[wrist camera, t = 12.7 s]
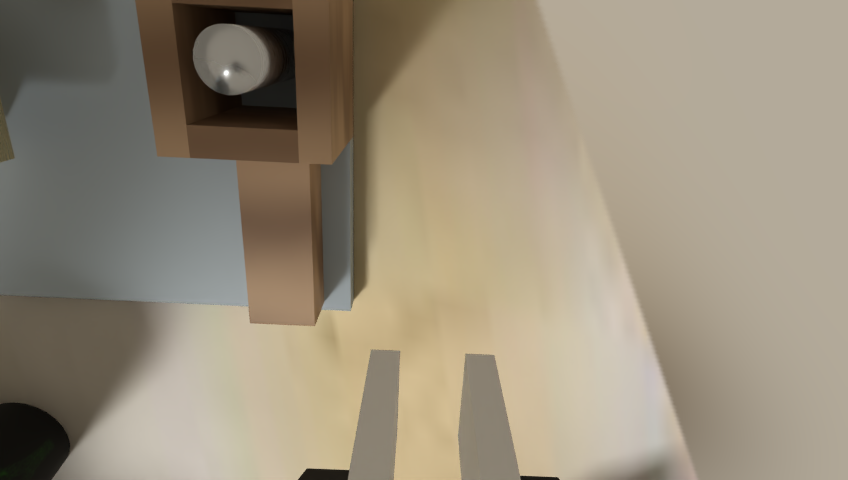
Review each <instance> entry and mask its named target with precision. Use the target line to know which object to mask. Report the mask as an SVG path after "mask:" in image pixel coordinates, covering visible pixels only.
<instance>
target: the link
mask: <svg viewBox="0 0 848 480" xmlns="http://www.w3.org/2000/svg"><path fill="white" fill-rule="evenodd" d="M135 3H136V10H137V17H138V24H139V31H140V38H141V45H142V52H143V60H144V67H145V74H146V81H147V88H148V95H149V102H150V109H151V116H152V123H153V130H154V137H155V144H156V151H157V156H158V157H178V158H199V159H220V160H236V167H237V178H238V190H239V201H240V213H241V224H242V236H243V248H244V259H245V271H246V282H247V294H248V305H249V317H250V323H258V324H280V325H303V326H315V324H316V322H317V319H318V317H319V314H320V312H321V309H322V306H323V304H324V274H323V236H322V197H321V164H325V165H332V164H333V162H334V161H335V160H336V159H337V157H338V156H339V155H340V153H341V152H342V151H343V149H344V148H345V147H346V145H347V144H348V143H349V142H350V140H351V139H352V138H353V0H135ZM235 12H245V13H264V14H284V15H293V28H294V53H295V77H296V101H297V108H287V107H267V106H247V105H242V97H241V94H238V95H225V94H221V93H218V92H216V91H214V90H213V89H211V88H210V87H208V86H207V85H206V84H205V83H204V82H203V81H202V79H201V78H200V77H199V75H198V73H197V71H196V69H195V66H194V61H193V48H194V44H195V41H196V39H197V37H198V36H199V34H200V33H201V32H202V31H203V30H204V29H206V28H207V27H209V26H212V25H215V24H235V25H236V20H235Z"/></svg>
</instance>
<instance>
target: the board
mask: <svg viewBox="0 0 848 480" xmlns="http://www.w3.org/2000/svg"><path fill="white" fill-rule="evenodd" d="M235 20H236V25H247V26H260V27H272V28H284V29H288V30H291V31H293V32H294V28H293V15H284V14H264V13H245V12H235ZM241 97H242V105H247V106H267V107H287V108H297V101H296V78H294V79H290V80H287V81H283V82H280V83H277V84H273V85H270V86H266V87H263V88H259V89H256V90H252V91H249V92H245V93H242V94H241ZM0 99H1V103H2V107H3V111H4V115H5V119H6V123H7V127H8V131H9V136H10V140H11V144H12V148H13V152H14V156H15V158H14V159H11V160H7V161H4V162H0V295H11V296H33V297H55V298H77V299H99V300H121V301H143V302H165V303H187V304H210V305H232V306H249V305H248V294H247V282H246V271H245V259H244V248H243V236H242V224H241V213H240V201H239V190H238V178H237V167H236V160H220V159H199V158H178V157H158V156H157V151H156V144H155V137H154V130H153V123H152V116H151V109H150V102H149V95H148V88H147V81H146V74H145V67H144V60H143V52H142V45H141V38H140V31H139V24H138V17H137V10H136V3H135V0H0ZM321 197H322V236H323V274H324V304H323V306H322V309H321V310H342V311H351V308H352V304H353V301H354V254H353V138H352V139H351V140H350V142H349V143H348V144H347V145H346V147H345V148H344V149H343V151H342V152H341V153H340V155H339V156H338V157H337V159H336V160H335V161H334V162H333V164H332V165H325V164H321Z"/></svg>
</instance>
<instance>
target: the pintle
mask: <svg viewBox="0 0 848 480" xmlns="http://www.w3.org/2000/svg"><path fill="white" fill-rule="evenodd" d="M193 61H194V66H195V69H196V71H197V73H198V75H199V77H200V78H201V79H202V81H203V82H204V83H205V84H206V85H207V86H208V87H210V88H211V89H213V90H214V91H216V92H218V93H221V94H225V95H238V94H242V93H245V92H249V91H252V90H256V89H259V88H263V87H266V86H270V85H273V84H277V83H280V82H283V81H287V80H290V79H294V78H296V77H295V53H294V32H293V31H291V30H288V29H284V28H272V27H260V26H247V25H235V24H215V25H212V26H209V27H207V28H206V29H204V30H203V31H202V32H201V33H200V34H199V36H198V37H197V39H196V41H195V44H194V48H193Z"/></svg>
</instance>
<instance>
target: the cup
mask: <svg viewBox="0 0 848 480" xmlns="http://www.w3.org/2000/svg"><path fill="white" fill-rule="evenodd" d="M69 447H70V443H69V440H68V436H67V434H66V432H65V430H64V429H63V427H62V426H61V425H60V424H59V423H58V422H57V421H56V419H54V418H53V417H52V416H50V415H49V414H47V413H46V412H44V411H42V410H40V409H38V408H36V407H33V406H29V405H26V404H20V403H4V404H0V480H52V478H53V477H54V475H55V474H56V473H57V471H58V470H59V468H60V467H61V466H62V464H63V463H64V461H65V460H66V458H67V456H68V453H69Z"/></svg>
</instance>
